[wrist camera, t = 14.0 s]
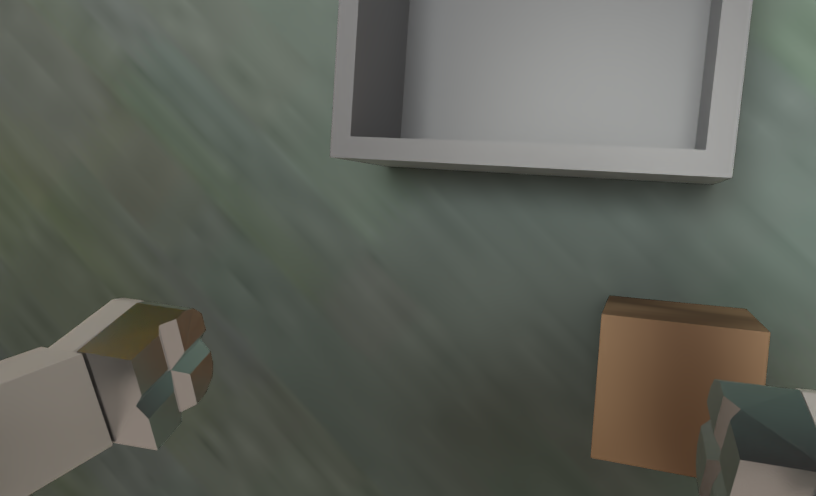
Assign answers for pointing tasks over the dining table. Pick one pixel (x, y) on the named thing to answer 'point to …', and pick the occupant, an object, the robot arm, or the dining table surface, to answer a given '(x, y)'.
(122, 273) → the dining table surface
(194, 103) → the dining table surface
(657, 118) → the tote
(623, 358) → the cube
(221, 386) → the dining table surface
